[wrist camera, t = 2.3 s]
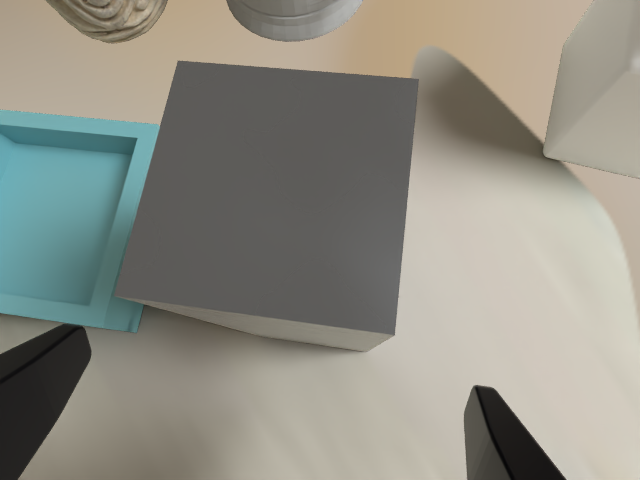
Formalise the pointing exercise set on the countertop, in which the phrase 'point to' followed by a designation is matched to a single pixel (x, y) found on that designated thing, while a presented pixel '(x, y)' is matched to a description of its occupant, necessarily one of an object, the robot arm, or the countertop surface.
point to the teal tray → (69, 215)
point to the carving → (110, 17)
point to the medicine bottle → (599, 91)
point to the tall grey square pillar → (277, 203)
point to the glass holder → (292, 17)
